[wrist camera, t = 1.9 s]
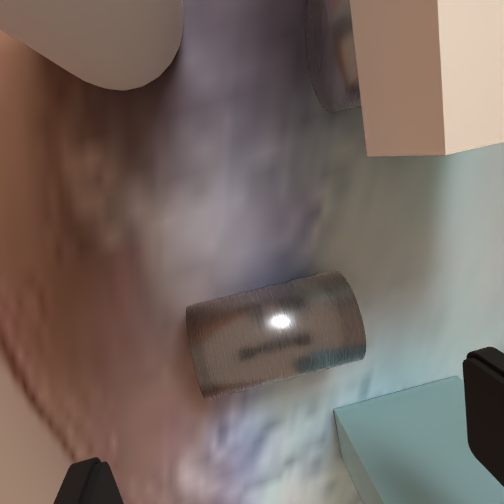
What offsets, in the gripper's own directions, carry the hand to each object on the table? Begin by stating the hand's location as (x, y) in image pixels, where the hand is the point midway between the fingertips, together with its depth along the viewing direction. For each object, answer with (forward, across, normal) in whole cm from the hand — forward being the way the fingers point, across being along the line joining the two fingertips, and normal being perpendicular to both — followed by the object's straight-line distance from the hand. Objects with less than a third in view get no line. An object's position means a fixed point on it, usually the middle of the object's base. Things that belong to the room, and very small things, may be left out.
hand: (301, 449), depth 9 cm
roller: (+7, 0, -1) cm, 7 cm away
